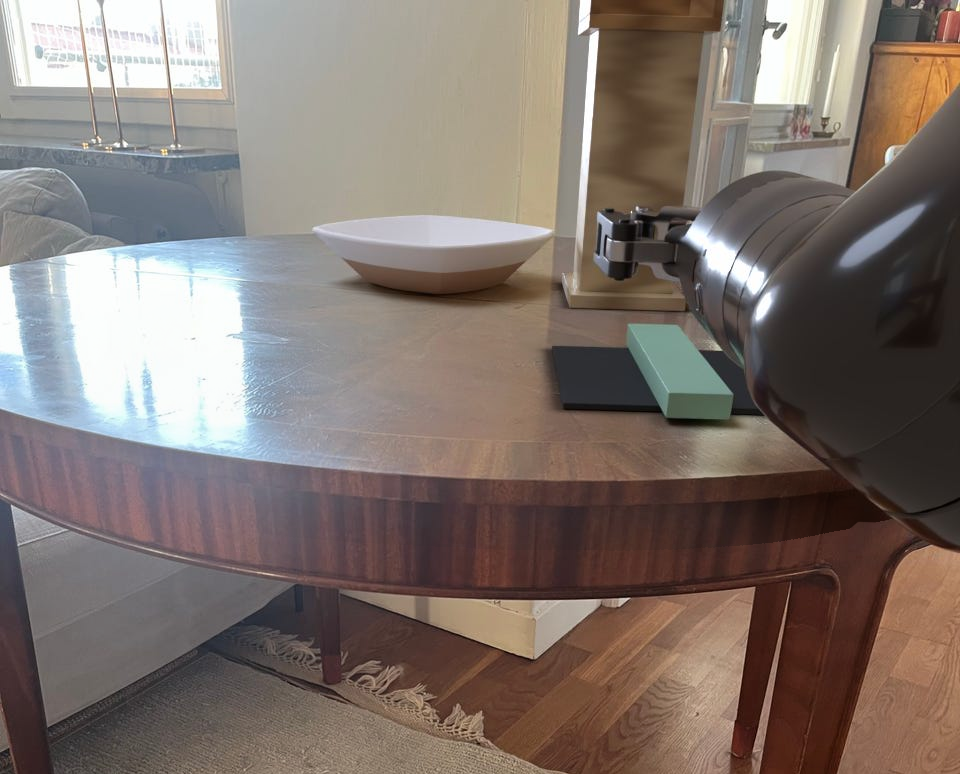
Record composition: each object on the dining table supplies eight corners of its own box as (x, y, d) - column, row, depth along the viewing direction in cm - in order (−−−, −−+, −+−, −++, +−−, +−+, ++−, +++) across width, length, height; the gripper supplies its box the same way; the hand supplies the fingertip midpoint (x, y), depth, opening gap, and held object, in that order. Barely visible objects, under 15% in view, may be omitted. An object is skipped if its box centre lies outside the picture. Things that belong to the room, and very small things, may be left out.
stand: (664, 286, 102) (698, -6, 89) (684, 311, 91) (727, -20, 78) (561, 283, 102) (580, -9, 89) (569, 307, 91) (592, -24, 78)
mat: (753, 356, 75) (754, 351, 75) (809, 416, 62) (810, 410, 61) (551, 350, 76) (552, 345, 75) (563, 408, 62) (563, 402, 61)
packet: (675, 345, 76) (678, 324, 76) (729, 419, 59) (733, 394, 58) (625, 343, 76) (627, 323, 76) (665, 418, 59) (668, 392, 58)
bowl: (446, 311, 88) (446, 250, 85) (288, 281, 99) (284, 226, 96) (577, 283, 102) (581, 230, 100) (426, 260, 114) (426, 212, 111)
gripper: (984, 183, 38) (856, 159, 52) (625, 171, 38) (594, 150, 52) (934, 374, 41) (827, 303, 56) (607, 361, 42) (583, 294, 56)
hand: (714, 229), depth 54 cm, fingers open, 8 cm apart
